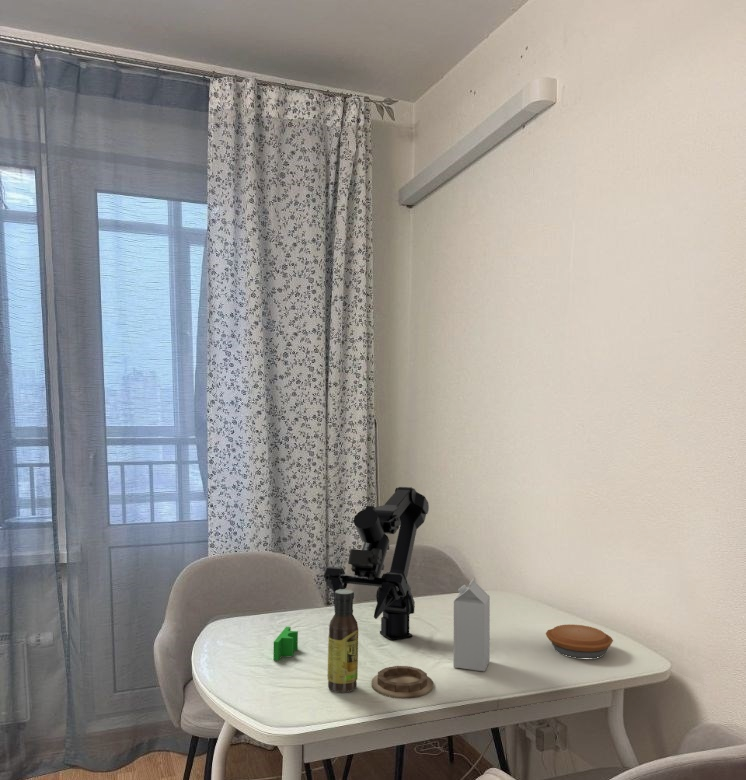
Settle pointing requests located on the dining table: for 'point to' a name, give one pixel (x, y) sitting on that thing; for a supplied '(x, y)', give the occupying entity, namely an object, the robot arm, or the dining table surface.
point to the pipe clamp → (285, 643)
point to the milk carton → (472, 628)
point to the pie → (579, 641)
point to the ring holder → (402, 682)
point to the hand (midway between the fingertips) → (355, 615)
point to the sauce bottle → (343, 644)
